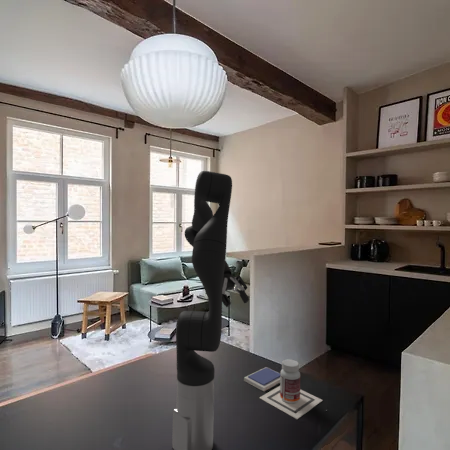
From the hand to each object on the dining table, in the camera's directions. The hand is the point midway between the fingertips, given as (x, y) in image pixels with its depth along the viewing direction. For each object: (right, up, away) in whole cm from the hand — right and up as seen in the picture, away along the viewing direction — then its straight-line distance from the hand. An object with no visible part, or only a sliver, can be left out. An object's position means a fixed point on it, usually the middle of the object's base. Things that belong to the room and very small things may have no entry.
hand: (238, 303), depth 105 cm
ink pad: (+10, -28, +4) cm, 30 cm away
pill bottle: (+16, -28, -7) cm, 33 cm away
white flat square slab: (+16, -28, -7) cm, 33 cm away
